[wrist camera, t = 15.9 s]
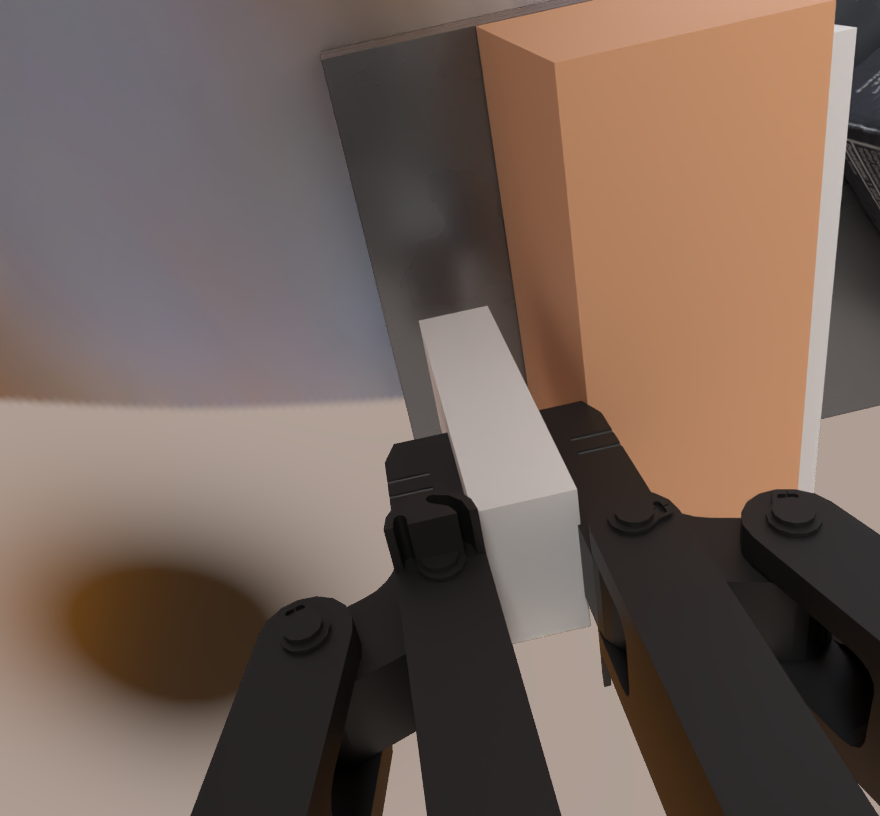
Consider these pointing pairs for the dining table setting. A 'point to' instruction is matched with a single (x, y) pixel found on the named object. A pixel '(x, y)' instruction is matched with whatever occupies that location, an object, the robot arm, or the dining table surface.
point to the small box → (865, 136)
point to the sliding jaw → (677, 226)
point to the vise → (480, 210)
